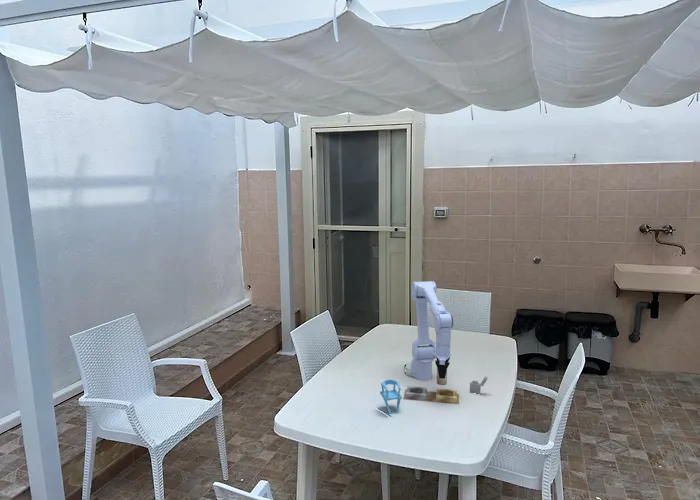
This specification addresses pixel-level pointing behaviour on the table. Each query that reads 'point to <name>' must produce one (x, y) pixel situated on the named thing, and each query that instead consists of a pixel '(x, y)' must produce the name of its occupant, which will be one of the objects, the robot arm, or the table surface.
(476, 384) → the lighter
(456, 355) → the table surface
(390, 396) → the chair
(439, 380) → the beige cylinder
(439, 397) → the dock
